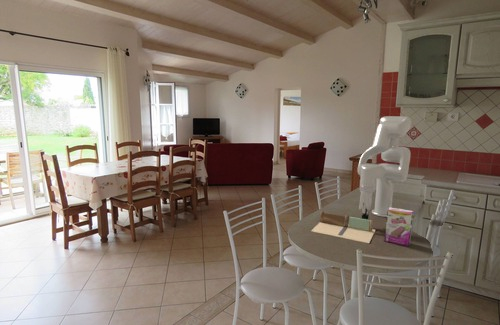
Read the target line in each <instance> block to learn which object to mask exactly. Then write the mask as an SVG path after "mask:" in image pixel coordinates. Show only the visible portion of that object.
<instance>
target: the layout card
mask: <svg viewBox="0 0 500 325" xmlns="http://www.w3.org/2000/svg"><path fill="white" fill-rule="evenodd" d="M310 232H312V233H316V234H320V235H325V236H330V237H336V238H338V239H339V238H340V239H344V240H350V241H354V242H359V243H363V244H370V243H371V241H372V239H373V237H374V235H375V233H376V229H374V228H372V231H369V230H363V229H358V228H353V227H349V223H348V227H345V226H339V225H334V224H329V223H324V222H320V221H319V222H318V223H317V224H316V225H315V226H314V227H313V229H311V230H310Z"/></svg>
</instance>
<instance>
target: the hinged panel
mask: <svg viewBox="0 0 500 325" xmlns="http://www.w3.org/2000/svg"><path fill="white" fill-rule="evenodd" d="M348 224H349V227H353V228H358V229H363V230H369V231H372V229H374V219H368V220H366V219H362V218H360V217H353V216H349V222H348Z"/></svg>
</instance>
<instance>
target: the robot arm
mask: <svg viewBox="0 0 500 325" xmlns="http://www.w3.org/2000/svg"><path fill="white" fill-rule="evenodd" d="M411 127H412V120H411V118H410V117H409V116H396V115H395V116H390V115H388V116H382V117H381V118H380V119H379V124H378V125H377V127H376V129H375V133H374V137H373V142H372V145H371V146H370V147H369V148H367V149H366V150H365V151H364V152H363V153H362V155H361V156H360V158H359V162H358V165H357V170H356V171H357V174H358V175H359V176H360V182H359V183H360V184H359V192H360V197H359V204H358V205H359V206H358V209H359V210H361V212H362V213H361V219H366V220H369V215H370V214H369V212H370V209H371V207H372V204H373V203H372V202H373V193H374V194H375V200H374V209H372V210H371V213H372V214H373V215H374V216H377V217H384V218H387V210H388V208H389V207H391V208H393V205H392V204H393V197H394V196H393V194H394V185H393V182H392V181H397V182H404V181H405V182H406V180H407V179H408V174H409V167H410V162H411V150H410V148H408V147H404V146H399V143H400V142H399V141H400V138H403V137H404V136H405V135H406V134H407V133H408V132H409V130H410V129H411ZM379 154H381V156H380V157H381V160H383V161H384V163H379V164H375V163H367V162H368V160H369V159H370V158H372V157H373V156H376V155H379ZM385 162H390V163H385ZM393 163H394V164H393ZM395 163H398V164H395Z"/></svg>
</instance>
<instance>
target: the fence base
mask: <svg viewBox="0 0 500 325" xmlns="http://www.w3.org/2000/svg"><path fill="white" fill-rule="evenodd" d="M349 217H350V216H349V215H347V214H345V215H344V214H343V215H341V214H338V213H337V214H336V213H330V212H326V211H324V210H320V213H319V223H320V222H324V223H329V224H334V225H339V226H345V227H348V224H349Z"/></svg>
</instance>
